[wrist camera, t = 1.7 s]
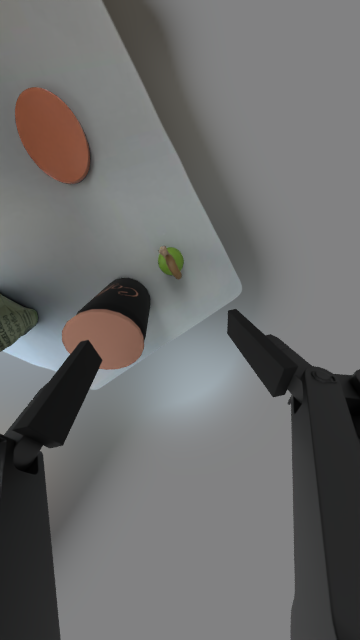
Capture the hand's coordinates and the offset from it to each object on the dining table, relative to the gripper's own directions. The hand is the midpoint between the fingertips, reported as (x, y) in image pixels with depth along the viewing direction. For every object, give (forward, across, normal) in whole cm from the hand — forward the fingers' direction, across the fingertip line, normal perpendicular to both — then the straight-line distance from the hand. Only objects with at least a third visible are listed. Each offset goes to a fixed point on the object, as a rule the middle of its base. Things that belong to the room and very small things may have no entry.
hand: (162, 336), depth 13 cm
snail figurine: (+24, +3, +4) cm, 24 cm away
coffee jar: (+24, -9, -4) cm, 25 cm away
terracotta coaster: (+23, -11, +22) cm, 34 cm away
